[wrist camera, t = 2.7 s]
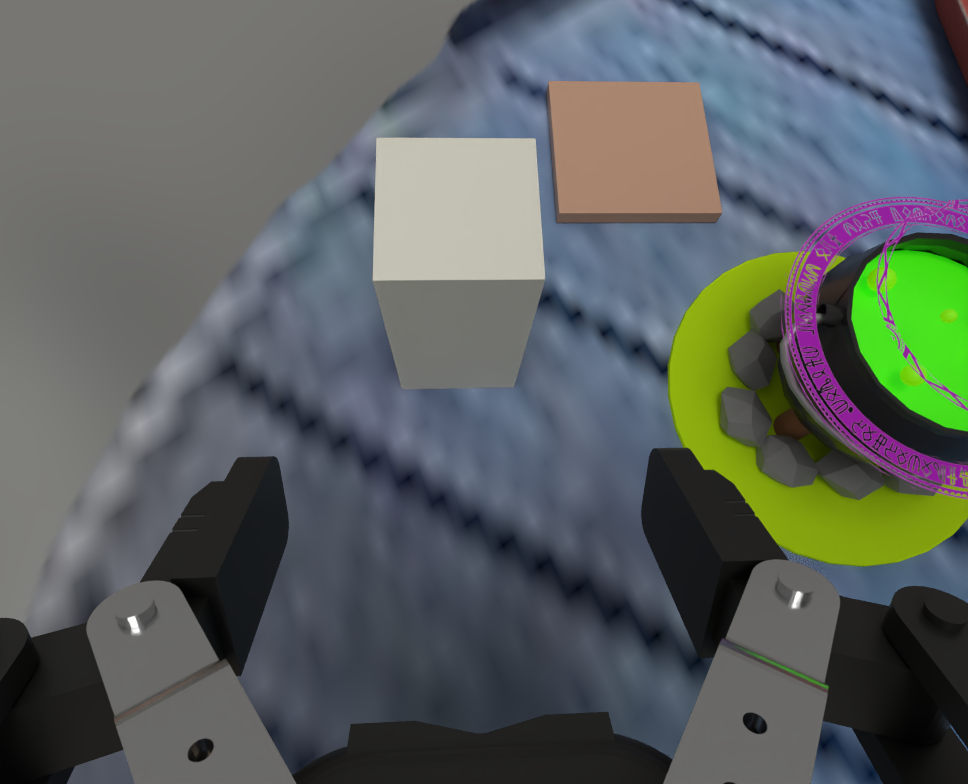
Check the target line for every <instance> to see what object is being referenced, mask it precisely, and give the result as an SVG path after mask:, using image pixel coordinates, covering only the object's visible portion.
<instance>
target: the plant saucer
mask: <svg viewBox="0 0 968 784" xmlns="http://www.w3.org/2000/svg"><path fill="white" fill-rule="evenodd" d="M935 5H936V10H937V13H938V16H939V18H940V21H941V23H942V26H943V28H944V31H945V33H946V36H947V38H948V41H949V43H950V45H951V48H952V50H953V53H954V55H955V57H956V60H957V62H958V65H959V67H960V70H961V72H962V75H963V77H964V80H965V82H966V84H967V87H968V0H935Z"/></svg>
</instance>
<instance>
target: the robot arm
mask: <svg viewBox="0 0 968 784" xmlns="http://www.w3.org/2000/svg"><path fill="white" fill-rule="evenodd" d="M641 516H642V525H643V530H644V533H645V536H646V538H647V541H648V543H649V545H650V547H651V550H652V552H653V554H654V556H655V559H656V561H657V563H658V566H659V568H660V570H661V572H662V575H663V577H664V579H665V581H666V584H667V586H668V588H669V591H670V593H671V595H672V597H673V600H674V602H675V604H676V606H677V609H678V611H679V613H680V616H681V618H682V620H683V622H684V625H685V627H686V629H687V631H688V634H689V636H690V638H691V640H692V643H693V645H694V647H695V650H696V652H697V654H698V656H699V658H711V657H714V659H713V661H712V664H711V666H710V669H709V671H708V674H707V676H706V679H705V681H704V684H703V686H702V689H701V691H700V694H699V696H698V699H697V701H696V703H695V706H694V708H693V711H692V713H691V716H690V718H689V721H688V723H687V726H686V728H685V731H684V733H683V736H682V738H681V741H680V743H679V746H678V748H677V751H676V753H675V756H674V758H673V760H672V759H671V758H670V757H668V756H667V755H665V754H663V753H662V752H660V751H658V750H656V749H655V748H653V747H651V746H649V745H646V744H644V743H642V742H640V741H638V740H635V739H632V738H628V737H625V736H622V735H618V734H614V733H613V730H612V726H611V722H610V718H609V714H608V712H596V713H575V714H554V715H544V716H541V717H537V718H534V719H531V720H528V721H524V722H521V723H518V724H515V725H511V726H508V727H505V728H502V729H498V730H495V731H492V732H489V733H484V734H477V733H471V732H466V731H461V730H457V729H452V728H447V727H442V726H437V725H432V724H427V723H422V722H417V721H405V722H384V723H363V724H351V726H350V733H349V740H348V746H347V747H344V748H341V749H337V750H335V751H333V752H330V753H328V754H326V755H324V756H321V757H320V758H318V759H316V760H314V761H313V762H311V763H309V764H307V765H306V766H304V767H303V768H302V769H300V770H299V771H297V772H296V773H295V774H293V775H291V773H290V771H289V770H288V768H287V766H286V764H285V762H284V761H283V759H282V757H281V755H280V754H279V752H278V750H277V748H276V746H275V745H274V743H273V741H272V739H271V737H270V736H269V734H268V732H267V730H266V729H265V727H264V725H263V723H262V721H261V720H260V718H259V716H258V714H257V713H256V711H255V709H254V707H253V705H252V704H251V702H250V700H249V698H248V697H247V695H246V693H245V691H244V689H243V688H242V686H241V684H240V682H239V681H238V679H237V677H236V676H241V674H242V672H243V669H244V666H245V663H246V660H247V657H248V654H249V651H250V648H251V645H252V643H253V640H254V637H255V634H256V631H257V628H258V625H259V622H260V619H261V616H262V614H263V611H264V608H265V605H266V602H267V599H268V596H269V593H270V590H271V587H272V585H273V582H274V579H275V576H276V573H277V570H278V567H279V564H280V561H281V558H282V556H283V553H284V550H285V547H286V544H287V539H288V529H289V520H288V512H287V506H286V500H285V494H284V489H283V483H282V477H281V471H280V466H279V462H278V460H277V458H276V457H274V456H272V457H239V458H237V459H236V461H235V463H234V464H233V466H232V468H231V470H230V472H229V473H228V475H227V477H226V479H225V481H217V482H210V483H209V484H208V485H207V486H205V487H204V488H203V489H202V490H200V491H199V492H198V493H197V494H195V495H194V496H193V497H192V498H191V499H190V501H189V503H188V504H187V506H186V508H185V509H184V511H183V513H182V514H181V518H179V519H178V521H177V522H176V524H175V526H174V527H173V529H172V530H173V531H172V533H170V534H169V535H168V537H167V539H166V540H165V542H164V544H163V545H162V547H161V549H160V550H159V552H158V553H157V555H156V557H155V558H154V560H153V562H152V563H151V565H150V566H149V568H148V570H147V571H146V573H145V575H144V576H143V578H142V580H141V581H140V583H137V584H134V585H131V586H128V587H126V588H123V589H121V590H119V591H117V592H116V593H114V594H112V595H111V596H109V597H108V598H107V599H105V600H104V601H103V602H102V603H101V604H100V605H99V606H97V608H96V609H95V610H94V611H93V613H92V614H91V616H90V617H89V620H88V622H87V623H84V624H81V625H77V626H74V627H70V628H66V629H62V630H59V631H55V632H51V633H47V634H44V635H40V636H36V637H32V638H31V637H30V635H29V632H28V630H27V628H26V627H25V625H24V624H23V623H22V622H20V621H18V620H15V619H10V618H0V784H67V782H68V780H69V777H70V775H71V773H72V771H73V769H74V767H75V766H76V765H79V764H82V763H85V762H88V761H91V760H94V759H97V758H100V757H103V756H106V755H109V754H112V753H115V752H118V751H121V750H124V752H125V755H126V758H127V761H128V764H129V767H130V770H131V773H132V776H133V779H134V782H135V784H811V779H812V774H813V769H814V763H815V758H816V753H817V748H818V742H819V737H820V732H821V727H822V722H823V721H826V722H830V723H834V724H838V725H842V726H846V727H850V728H852V729H853V731H854V733H855V734H856V736H857V738H858V740H859V742H860V743H861V745H862V747H863V749H864V750H865V752H866V754H867V756H868V757H869V759H870V761H871V763H872V765H873V766H874V768H875V770H876V772H877V773H878V775H879V777H880V779H881V780H882V782H883V784H968V751H967V750H966V748H965V747H964V746H963V744H962V743H961V741H960V740H959V739H958V737H957V736H956V734H955V733H954V732H953V730H952V729H951V728H950V725H952V727H953V728H954V730H955V731H956V732H957V734H958V735H959V737H960V738H961V739H962V741H963V742H964V743H965V745H966V746H967V748H968V603H966V602H965V601H963V600H961V599H959V598H957V597H955V596H953V595H951V594H949V593H946V592H943V591H940V590H937V589H933V588H929V587H923V586H908V587H904V588H902V589H899V590H898V591H897V592H896V593H895V594H894V596H893V599H892V601H891V603H890V606H886V605H881V604H876V603H871V602H866V601H861V600H856V599H851V598H847V597H843V596H839V594H838V592H837V590H836V589H835V587H834V586H833V585H832V584H831V583H830V581H829V580H828V579H826V578H825V577H824V576H823V575H821V574H820V573H818V572H817V571H815V570H813V569H811V568H809V567H807V566H805V565H802V564H800V563H796V562H793V561H789V560H788V559H787V557H786V556H785V554H784V553H783V552H782V550H781V549H780V547H779V546H778V545H777V543H776V542H775V540H774V539H773V538H772V536H771V535H770V533H769V532H768V531H767V529H766V528H765V526H764V525H763V524H762V522H761V521H760V520H759V518H758V517H757V516H756V517H755V513H754V511H753V510H752V508H751V507H750V506H749V504H748V503H745V499H744V497H743V496H742V494H741V493H740V492H739V490H738V489H737V487H736V486H735V485H734V483H732V482H731V481H729V480H728V479H727V478H725V477H724V476H722V475H721V474H720V473H718V472H717V471H715V470H704V469H703V467H702V466H701V464H700V463H699V461H698V460H697V458H696V457H695V455H694V454H693V452H692V451H691V450H690V449H689V448H654V449H652V451H651V453H650V456H649V462H648V468H647V475H646V481H645V488H644V494H643V501H642V509H641Z"/></svg>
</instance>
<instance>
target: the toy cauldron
mask: <svg viewBox="0 0 968 784" xmlns="http://www.w3.org/2000/svg"><path fill="white" fill-rule="evenodd" d="M894 198H915V199H926V200H933V201H938V202H943V203H947V204H946V206H944V205H943V204H942V203H941V204H940V203H937V202H936V203H932V201H931V202H930V203H928V202H927V201H925V202H922V201H920V202H919V201H917V200H915V201H912V200H910V201H907V199H906V201H903V200H900V201H898V200H896V201H892V200H891V201H890V202H888V201H886V202H883V201H881V203H878V202H876V204H873V203H872V204H871V205H869V204H867V206H862V207H861V208H859V207H858V209H855V208H854V210H853V211H849V213H847V212H846V214H845V215H843V214H842V217H838V219H834V221H833V222H831V224H827V227H823V228H824V229H823V230H820V231H821V232H820V233H817V236H814V240H813V239H812V242H811V243H810V242H808V241H809V240H810V238H811V237H812V236H813V235H814V234H815V233H816V232H817V231H818V230H819V229H820V228H821V227H822V226H823V225H825V224H826V223H827V222H828V221H830V220H831V219H833V218H834V217H836V216H837V215H839V214H841V213H843V212H845V211H847V210H849V209H851V208H853V207H857V206H859V205H862V204H866V203H869V202H873V201H879V200H884V199H894ZM884 199H883V198H882V199H877V200H872V201H868V202H864V203H861V204H858V205H855V206H853V207H850V208H848V209H846V210H843V211H841V212H840V213H838V214H836V215H834V216H833V217H831V218H830V219H829V220H827V221H826V222H825V223H823V224H822V225H821V226H820V227H819V228H818V229H817V230H816V231H815V232H814V233H813V234H812V235H811V236H810V238H809V239H808V240H807V241H806V242H805V244H804V245H803V247H802V248H801V250H800V252H787V253H774V254H771V255H767V256H763V257H760V258H756V259H753V260H749V261H746V262H745V263H743V264H741V265H739V266H737V267H735V268H733V269H731V270H729V271H727V272H725V273H723V274H722V275H721V276H719V277H718V278H717V279H716V280H715V281H713V282H712V283H711V284H710V285H709V286H707V287H706V288H705V289H704V290H703V291H701V293H700V294H699V295H698V297H697V298H696V299H695V300H694V302H693V303H692V304H691V306H690V307H689V308H688V310H687V311H686V312H685V314H684V316H683V318H682V321H681V323H680V325H679V327H678V329H677V332H676V334H675V336H674V339H673V344H672V348H671V353H670V358H669V363H668V398H669V403H670V407H671V412H672V417H673V421H674V426H675V429H676V432H677V434H678V436H679V439H680V441H681V444H682V446H683V448H689V449H690V450H691V451H692V452H693V454H694V455H695V457H696V458H697V460H698V461H699V463H700V464H701V466H702V467H703V469H704V470H715V471H717V472H718V473H720V474H721V475H722V476H724V477H725V478H727V479H728V480H729V481H731V482H732V483H734V485H735V486H736V487H737V489H738V490H739V492H740V493H741V494H742V496H743V497H744V499H745V503H748V504H749V506H750V507H751V508H752V510H753V511H754V513H755V517H756V516H757V517H758V518H759V520H760V521H761V522H762V524H763V525H764V526H765V528H766V529H767V531H768V532H769V533H770V535H771V536H772V538H773V539H774V540H775V542H776V543H777V545H778V546H780V547H782V548H784V549H786V550H788V551H790V552H792V553H794V554H798V555H801V556H805V557H808V558H811V559H815V560H818V561H822V562H825V563H828V564H839V565H850V566H861V567H865V566H873V565H881V564H890V563H897V562H900V561H902V560H905V559H908V558H911V557H913V556H916V555H919V554H922V553H925V552H927V551H929V550H931V549H932V548H934V547H935V546H937V545H938V544H940V543H941V542H943V541H944V540H946V539H947V538H949V537H950V536H952V535H953V534H954V533H955V532H956V531H957V530H958V529H959V528H960V526H961V525H962V524H963V523H964V522H965V521H966V520H967V519H968V239H965V238H962V237H959V236H956V235H953V234H940V233H914V234H910V235H907V236H903V235H904V233H905V232H906V231H907V230H908V229H907V230H906V231H904V229H905V227H906V225H917V224H916V223H915V224H907V222H917V223H918V222H919V223H930V224H936V225H941V226H946V227H950V228H953V229H956V230H960V231H962V232H965V233H968V216H966V215H963V214H960V213H957V212H954V211H950V210H948V209H950V208H951V209H955V210H958V211H961V212H964V213H967V214H968V212H967V211H966V212H965V211H962V209H961V210H959V209H958V208H964V209H967V208H968V205H961V204H960V205H959V201H968V200H967V199H965V200H955V204H953V203H954V202H953V201H954V200H953V201H952V204H951V200H949V202H944V201H939V200H934V199H928V198H918V197H891V198H884ZM896 202H897V203H899V202H913V203H914V202H915V203H925V204H933V205H938V206H943V208H937V207H930V206H923V205H891V206H884V207H879V208H874V209H871V210H867V211H864V212H861V213H858V214H856V215H854V216H851V217H850V218H848V219H846V220H844V221H842V222H841V223H839V224H838V225H836V226H835V227H833V228H832V229H831V230H830V231H829V232H827V234H825V235H824V236H823V237H822V238H821V240H819V242H818V243H817V244H816V245H815V246H814V248H813V249H812V251H811V252H807V251H808V250H809V248H810V247H811V246H812V244H813V243H814V242H815V240H816V239H817V238H818V237H819V236H820V235H821V234H822V233H823V232H824V231H825V230H826V229H827V228H829V227H830V226H831V225H833V224H834V223H836V222H837V221H838V220H840V219H842V218H844V217H846V216H847V215H849V214H852V213H853V212H856V211H859V210H862V209H864V208H868V207H872V206H876V205H881V204H887V203H896ZM949 204H951V205H954V206H953V207H952V206H950V207H949ZM904 207H906V208H907V209H908V210H910V211H911V213H910V215H909V217H908V218H907V215H908V214H909V211H908V210H907V209H905V210H904V212H905V213H906V214H907V215H905V214H904V213H903V212H902V211H903V209H904ZM926 207H928V208H930V209H931V210H930V209H927V208H926ZM890 208H895V209H896V210H897V212H898V213H899V214H900V216H901V217H902V218H903V220H904V221H896V222H895V220H897V217H898V219H899V220H902V219H901V217H900V216H899V215H898V213H897V212H896V211H895V210H894V211H895V213H896V215H897V217H896V215H895V213H894V211H893V209H892V212H893V214H894V217H895V220H894V217H893V215H892V212H891V210H890ZM914 208H919V209H920V210H919V211H917V209H916V212H914V214H913V209H914ZM944 208H948V209H947V210H945V209H944ZM874 210H878V211H877V213H878V215H879V216H881V217H880V219H881V221H882V223H881V221H880V219H879V218H877V220H878V222H879V224H878V222H877V221H876V219H872V217H871V215H872V216H873V218H875V217H874V215H873V213H871V215H870V214H869V212H871V211H874ZM938 210H940V211H941V212H942V213H943V214H944V217H943V218H941V220H942V221H943V222H944V223H943V222H942V221H941V220H938V219H939V218H940V217H942V216H943V215H942V214H941V212H940V211H938ZM967 210H968V209H967ZM921 211H922V214H923V215H922V214H921ZM931 211H932V212H931ZM936 212H938V213H937V216H938V217H939V218H938V217H937V216H936V215H935V213H936ZM919 213H920V216H919ZM925 213H926V215H925ZM862 214H865V215H868V216H869V217H870V218H871V221H870V223H871V224H872V226H871V225H870V223H869V222H866V224H867V226H868V227H869V228H868V227H867V226H866V224H865V223H864V221H867V220H870V219H869V217H867V216H864V215H863V216H860V215H862ZM874 214H875V216H876V217H878V216H877V214H876V212H874ZM915 214H917V216H918V217H916V215H915ZM932 214H933V216H932ZM948 214H950V215H954V217H955V220H956V227H954V225H953V222H954V217H953V216H952V219H953V222H952V219H951V218H950V220H949V222H948V224H947V225H946V217H947V215H948ZM914 215H915V217H914ZM930 215H931V221H930ZM961 216H962V217H963V218H964V220H965V221H966V222H965V223H963V222H964V220H963V219H962V218H960V217H961ZM949 217H950V216H948V218H947V220H948V219H949ZM853 218H856V219H857V220H858V221H859V222H860V223H861V225H862V227H866V228H867V229H865V228H861V231H859V229H860V228H859V227H861V225H860V224H859V222H858V221H857V220H855V219H854V220H855V222H856V223H857V225H858V226H859V227H858V226H857V225H856V224H855V223H854V221H853ZM920 218H921V219H920ZM925 218H927V220H925ZM958 218H960V219H959V220H960V222H961V223H963V224H962V225H963V226H964V228H965V229H964V228H963V227H962V225H961V226H959V227H958V228H957V226H958V225H960V222H959V221H958ZM918 219H920V220H918ZM923 219H924V220H923ZM915 220H916V221H915ZM936 220H938V221H937V222H936ZM846 222H847V223H849V224H851V225H852V226H853V227H854V228H855V229H856V230H857V232H856V231H854V230H852V229H851V228H853V227H852V226H851V225H849V224H847V225H848V226H850V227H851V228H850V227H848V229H849V231H850V233H851V236H850V235H849V234H848V233H847V231H848V230H847V227H846V225H845V228H846V230H847V231H846V230H845V229H844V226H843V224H845V223H846ZM895 223H900V225H895V226H897V227H896V229H895V230H894V231H893V233H892V234H891V235H890V237H889V238H888V239H887V241H886V242H884V243H882V244H880V245H878V246H876V247H874V248H871V249H869V250H867V251H865V252H862V253H859V254H855V255H852V256H848V257H847V258H844V257H841V256H837V255H836V254H837V253H838V252H839V251H840V250H841V249H842V248H843V247H844V246H845V245H846V244H847V243H848V242H850V241H851V240H853V239H854V238H856V237H857V236H859V235H861V234H863V233H865V232H867V231H869V230H872V229H874V228H878V227H881V226H884V225H889V224H895ZM903 223H904V224H903ZM902 224H903V226H902V229H901V231H900V234H899V236H898V237H896V238H895V239H893V240H890V238H891V237H892V236H893V234H894V233H895V232H896V231H897V229H898V228H899V227H900V226H901V225H902ZM918 225H920V224H918ZM925 226H931V225H925ZM890 227H893V226H890ZM911 227H912V226H911ZM911 227H910V228H911ZM933 227H936V226H933ZM885 228H889V227H885ZM885 228H881V229H885ZM910 228H909V229H910ZM941 228H942V227H941ZM945 229H946V228H945ZM878 230H880V229H878ZM949 230H950V229H949ZM875 231H876V230H875ZM903 231H904V232H903ZM952 231H954V230H952ZM873 232H874V231H873ZM955 232H956V231H955ZM869 233H872V232H869ZM869 233H868V234H869ZM959 233H960V232H959ZM828 234H831V235H832V236H833V237H834V236H836V239H837V240H838V241H839V242H840V243H842V244H841V245H840V247H838V246H839V245H838V244H837V243H836V242H835V241H836V240H835V239H834V240H835V241H833V240H832V241H831V238H833V237H832V236H831V235H829V236H830V237H831V238H830V237H828ZM962 234H963V233H962ZM865 235H867V234H865ZM865 235H863V236H865ZM863 236H862V237H863ZM902 236H903V237H902ZM860 238H861V237H860ZM858 239H859V238H858ZM822 240H824V241H825V242H827V243H828V244H829V245H830V246H833V247H836V248H833V247H830V246H829V245H827V244H826V243H825V242H822V244H824V245H825V246H826V247H828V248H829V249H830V250H831V252H832V253H830V251H829V249H827V248H826V247H824V246H823V245H821V244H820V242H821V241H822ZM856 240H857V239H856ZM856 240H855V241H856ZM807 242H808V243H809V246H806V247H807V249H806V250H804V251H802V249H803V248H804V247H805V245H806V244H807ZM852 243H853V242H852ZM852 243H851V244H852ZM851 244H849V245H851ZM849 245H848V246H849ZM848 246H847V247H848ZM847 247H845V248H844V249H846V248H847ZM815 249H824V252H825V253H823V250H817V252H818V253H816V250H815ZM844 249H843V250H844ZM843 250H842V251H843ZM842 251H841V252H842ZM841 252H840V253H841ZM840 253H839V254H840Z"/></svg>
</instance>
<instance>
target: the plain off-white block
mask: <svg viewBox="0 0 968 784" xmlns="http://www.w3.org/2000/svg"><path fill="white" fill-rule="evenodd" d="M544 282H545V270H544V255H543V241H542V227H541V212H540V198H539V183H538V169H537V155H536V140H535V139H512V138H377V146H376V182H375V218H374V254H373V283H374V287H375V291H376V294H377V298H378V302H379V306H380V309H381V313H382V317H383V321H384V324H385V328H386V332H387V335H388V339H389V343H390V347H391V350H392V354H393V358H394V361H395V365H396V369H397V373H398V376H399V380H400V384H401V388H402V389H451V388H514V386H515V383H516V379H517V376H518V372H519V369H520V365H521V362H522V358H523V355H524V351H525V348H526V344H527V341H528V337H529V334H530V330H531V327H532V324H533V320H534V317H535V313H536V310H537V306H538V303H539V299H540V296H541V292H542V289H543V285H544Z"/></svg>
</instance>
